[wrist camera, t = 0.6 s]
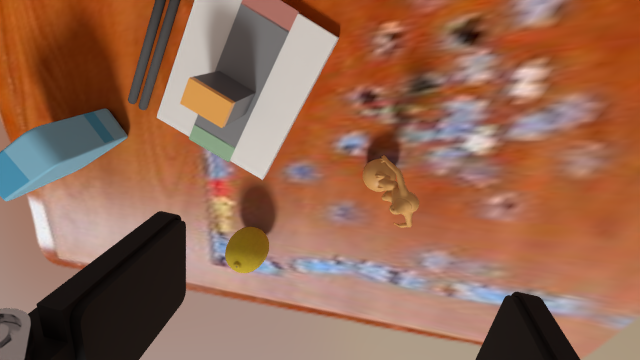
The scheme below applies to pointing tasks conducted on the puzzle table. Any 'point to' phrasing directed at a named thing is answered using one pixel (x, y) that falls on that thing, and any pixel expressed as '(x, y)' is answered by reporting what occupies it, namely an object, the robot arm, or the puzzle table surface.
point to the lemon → (247, 249)
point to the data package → (56, 151)
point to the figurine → (391, 188)
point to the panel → (248, 74)
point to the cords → (157, 54)
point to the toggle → (217, 98)
